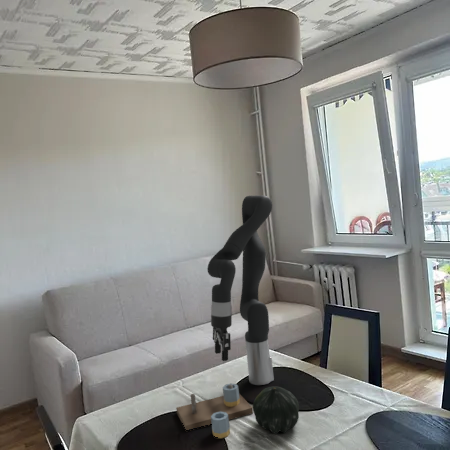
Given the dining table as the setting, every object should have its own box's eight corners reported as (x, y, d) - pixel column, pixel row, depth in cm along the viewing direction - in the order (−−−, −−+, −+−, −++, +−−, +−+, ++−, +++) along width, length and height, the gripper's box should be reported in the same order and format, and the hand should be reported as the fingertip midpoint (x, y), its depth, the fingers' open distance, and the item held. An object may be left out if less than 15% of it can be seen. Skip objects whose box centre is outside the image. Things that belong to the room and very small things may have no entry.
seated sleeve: (236, 398, 163) (234, 382, 163) (241, 404, 159) (239, 387, 158) (222, 401, 162) (221, 385, 161) (227, 407, 157) (225, 391, 156)
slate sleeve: (226, 427, 148) (224, 410, 147) (231, 435, 143) (229, 417, 142) (211, 431, 146) (209, 414, 145) (216, 439, 141) (214, 421, 140)
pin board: (238, 397, 169) (236, 374, 168) (252, 413, 155) (250, 388, 155) (176, 412, 161) (174, 389, 160) (186, 431, 148) (183, 405, 147)
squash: (273, 393, 157) (255, 373, 148) (312, 404, 148) (295, 383, 139) (258, 432, 150) (238, 414, 141) (297, 447, 141) (278, 428, 132)
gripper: (237, 317, 158) (237, 362, 159) (225, 308, 172) (225, 349, 172) (217, 318, 156) (217, 364, 156) (206, 309, 169) (206, 351, 170)
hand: (221, 356), depth 164 cm, fingers open, 8 cm apart
